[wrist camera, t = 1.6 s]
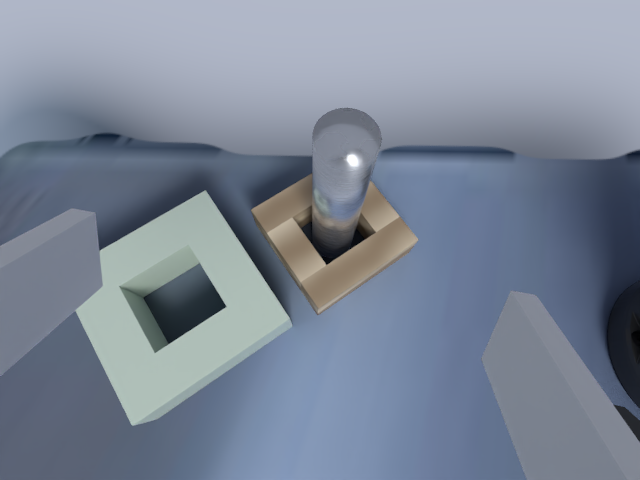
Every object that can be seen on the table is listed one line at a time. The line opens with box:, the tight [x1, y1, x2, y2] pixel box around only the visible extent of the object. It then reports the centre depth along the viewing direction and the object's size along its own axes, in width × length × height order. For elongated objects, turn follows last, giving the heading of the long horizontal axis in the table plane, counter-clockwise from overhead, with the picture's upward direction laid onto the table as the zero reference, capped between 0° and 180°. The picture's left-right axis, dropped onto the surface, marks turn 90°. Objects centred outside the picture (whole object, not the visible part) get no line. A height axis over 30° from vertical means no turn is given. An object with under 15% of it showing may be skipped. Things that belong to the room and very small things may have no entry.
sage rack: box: [76, 190, 292, 426], centre depth 35 cm, size 14×14×5 cm
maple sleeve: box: [251, 173, 418, 315], centre depth 38 cm, size 11×11×4 cm
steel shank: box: [312, 108, 382, 258], centre depth 31 cm, size 4×4×18 cm
